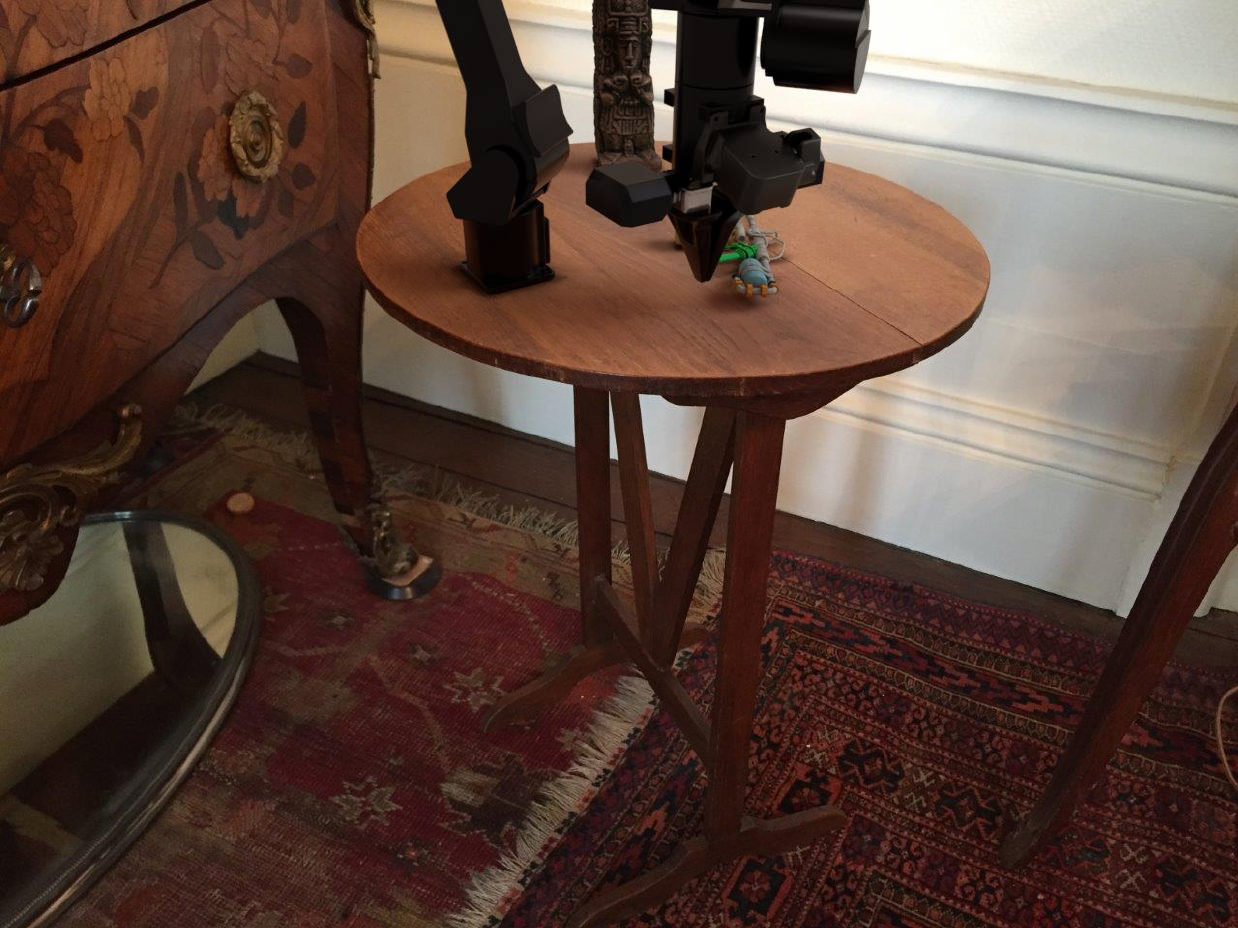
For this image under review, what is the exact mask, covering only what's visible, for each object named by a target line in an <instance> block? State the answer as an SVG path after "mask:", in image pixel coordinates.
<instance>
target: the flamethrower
mask: <svg viewBox="0 0 1238 928" xmlns="http://www.w3.org/2000/svg"><path fill="white" fill-rule="evenodd" d="M754 216H755V215H745V217H746V220H747V223H748V228H747V229H745V228H744V225H743V224H742V221H741V219H740V220H739V221H738V223H737V225H736V226H735V228H734V230H733V232H732V234H731V236H730V238H729V240H728V242H727V244H726V247H725V249H724V251H729V250H730V251H731V250H732V251H733V252H730V253H725V254H722V256H721V258H720V260H719V262H718V264H719V263H725V262H729V261H734V260H738V261H740V262H741V263H739V267H738V272H736V273H735V272H734V273H733V274H732V276H731V278H732V281H733V283H732V284H731V288H732V291H733V292H734V293H739V294H743V295H745V296H746V298H752V297H757V296H760V298H761V299H766V298H767V297H768V296H771V295H777V294H778V293H779V292H780V291H781V290H780V287H779V285H778V283H777V282H776V281H775V279H774V278H775V277H774V275H773V272H772V270H771V266H770V261H773V260H778V259H779V258H782V257H783V255H784V251H785V248H786V242H785V241H784V240H781V239H779V231H778V230H777V229H772V230H767V231H766V230H764V229H762V228H760V227H759V226H758V225H757V222H756V220H755V217H754ZM773 234H775V236H774V235H773ZM734 236H735V240H736V241H737V242H732V243H731V244H730V242H731V240H732V238H733V237H734ZM768 238H771V240H770V241H769V239H768ZM747 239H748V242H750V243H751V244H749V243H745V241H746V240H747ZM674 240H675V244H676V245H681V243H680V240H679V238H678V235H677V233H676V231H675V230H674ZM776 241H777V242H779V243H781V244H782V248H781V251H780V254H779V255H777V256H775V257H770V255H769V252H768V249H767V247H768V246H769V245H772V244H773V243H775V242H776Z"/></svg>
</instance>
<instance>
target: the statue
mask: <svg viewBox="0 0 1238 928" xmlns="http://www.w3.org/2000/svg"><path fill="white" fill-rule="evenodd" d="M647 1H648V0H592V3H591V8H592V9H591V14H592V15H591V22H592V23H591V25H592V28H591V30H592V33H591V35H592V43H593V53H594V56H593V64H594V69H593V76H592V77H593V78H592V79H593V80H592V87H593V91H592V94H593V98H592V113H593V121H592V122H593V136H594V149H595V152H596V155H597V159H598V167H602V166H607V165H612V164H617V163H622V162H627V161H635V162H637V163H639V164H641V165H642V166H644V167H646V168H648V169H650V170H652V171H654V172H661V171H662V168H663V159H662V156H660V155H659V154H658V153H657V152H656V146H655V142H656V140H655V119H656V112H655V105H654V100H655V94H654V84H653V77H652V74H650V73H651V71H650V70H651V57H652V56H651V55H652V48H653V43H654V41H653V38H652V36H653V34H654V33H653V27H654V25H653V16H652V15H653V14H652V13H653V9H650V8H649V7H648V4H647Z"/></svg>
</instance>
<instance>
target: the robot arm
mask: <svg viewBox="0 0 1238 928" xmlns="http://www.w3.org/2000/svg"><path fill="white" fill-rule="evenodd" d="M434 2H435V5H436V8H437V11H438V13H439V17H440V20H441V22H442V25H443V28H444V31H445V33H446V36H447V39H448V42H449V45H450V47H451V50H452V54H453V56H454V59H455V62H456V64H457V67H458V71H459V73H460V76H461V79H462V81H463V85H464V88H465V113H464V114H465V115H464V139H465V143H466V147H467V148H466V149H467V153H468V158H469V162H470V166H471V167H470V168H469V169H468V170H467V171H466V172H465V173H464V174H463V175H462V176H461V177H460V178H459V179H458V180H457V181H456V182H455V183H454V185H453V186H452V187H451V188H450V189H448V191H447V192H446V194H445V197H446V200H447V202H448V206H449V207H450V209H451V213H452V215H453V217H454V219H457V220H461V221H462V229H463V237H464V250H465V259H464V260H461V261H459V264H458V265H459V269H460V270H462V272H463V273H465V275H467V276H468V277H469V278H470V279H471V280H473V281H474V282H475V283H476V284H477V285H479V286H480V287H481V288H482V289H483V290H484V291H485V292H486V293H489V294H495V293H499V292H503V291H507V290H511V289H515V288H520V287H523V286H527V285H532V284H535V283H539V282H544V281H547V280H551V279H554V278H555V277H556V270H555V269H554V268H552V267H551V266H549V265H548V264H550V263H551V261H552V256H551V255H552V254H551V251H552V250H551V231H550V229H551V227H550V219H549V218H548V217H547V216H545V203H544V202H542V201H541V200H539V198H540V197H541V196H542V195H545V194H547V193H548V192H549V189H550V187H551V183H552V180H553V179H554V178H556V177H557V176H558V175H559V174H560V173H561V172H562V171H563V170H564V168H565V166H566V164H567V162H568V159H569V157H570V153H571V151H570V150H571V146H570V140H569V137H570V136H572V135H573V134H574V130H573V128H572V127H571V125H570V124H569V122H568V120H567V118H566V116H565V114H564V109H563V105H562V98H561V93H560V90H559V87H558V86H557V84H555V83H553V84H551V85H549V86H547V87H545V88H543V89H542V88H541V87H540V86H539V84H538V83H537V82H536V81H535V80H534V79H533V78H532V76H531V75H530V74H529V73H528V72H527V69H526V68H525V67H524V64H523V62H522V58H521V56H520V55H521V54H520V52H519V48H518V45H517V42H516V40H515V37H514V33H513V31H512V26H511V24H510V21H509V18H508V14H507V12H506V8H505V6H504V2H503V0H434ZM647 4H648V7H649V8H650V9H652V10H656V11H657V10H659V11H672V12H676V35H675V36H676V37H675V63H674V64H675V65H674V66H675V67H674V85H673V86H674V87H671V88H665V89H663V104H664V105H666V106H668V107H671V108H673V114H672V115H673V116H672V140H671V141H672V143H668V144H664V145H662V147H661V160H662V161H665V162H667V163H670V164H671V168H670V169H666V170H660V171H657V172H654V171H652V170H650V169H648V168H646V167H644V166H642V165H641V164H639V163H637V162H635V161H627V162H622V163H617V164H612V165H607V166H602V167H599V166H598V167H594V168H593V169H592V170H591V172H590V173H589V175H588V176H587V178H586V181H585V185H584V187H585V189H584V190H585V205H586V206H588V207H589V208H591V209H592V210H594V211H595V212H597V213H599V214H600V215H601V216H603V217H604V218H607V219H608V220H609V221H611V222H613V223H615V224H616V225H618V226H619V227H621V228H628V229H629V228H630V229H633V228H637V227H642V226H645V225H650V224H654V223H659V222H663V221H664V219H665V218H666V217H667V218H668V219H669V221H670V224H671V225H672V227H673V229H674V232H675V231H676V233H677V235H678V238H679V240H680V243H681V244H680V245H681V248H682V250H683V252H684V255H685V257H686V260H687V263H688V265H689V267H690V270H691V273H692V275H693V278H694V279H695V280H696V281H698V282H699V283H701V284H703V283H707V282H708V283H709V282H710V281H711V280H712V278H713V276H714V273H715V271H716V269H717V267H718V264H719V263H718V262H719V260H720V258H721V256H722V255H723V253H724V251H725V250H724V249H725V247H726V244H727V242H728V240H729V238H730V236H731V234H732V232H733V230H734V228H735V226H736V225H737V223H738V221H739V220H741V219H742V218H743V217H744V216H746V215H753V216H756V215H760V214H761V213H762V212H764V211H768V210H772V209H776V208H777V209H778V208H779V209H785V208H788V207H790V206H791V204H792V202H793V200H794V198H795V196H796V193H797V190H801V189H805V188H810V187H814V186H818V185H823V181H824V174H825V167H826V158H825V156H824V153H823V151H822V148H821V147H822V137H821V136H820V135H819V134H818V133H817V132H816V131H815V130H814V129H813V128H812V127H805V128H799V129H795V130H791V131H789V132H787V131H784V130H778V131H771V130H770V129H769V128H768V126H767V120H766V117H767V116H766V114H767V106H766V105H765V98H764V97H762V96H759V95H756V94H754V93H755V83H756V82H755V80H756V67H757V57H758V45H759V44H758V43H759V33H760V32H759V31H760V21H761V19H763V23H762V31H761V37H760V47H759V63H760V68H761V70H762V71H763V70H764V76H765V77H766V78H772V82H773V85H774V86H775V87H780V88H790V89H798V90H799V89H800V90H812V91H820V92H828V93H839V94H849V95H857V94H858V93H859V90H860V88H861V86H862V82H863V77H864V73H865V71H866V65H867V60H868V55H869V49H870V43H871V35H872V30H871V29H869V28H870V19H871V18H870V17H871V5H870V0H648V1H647Z"/></svg>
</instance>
